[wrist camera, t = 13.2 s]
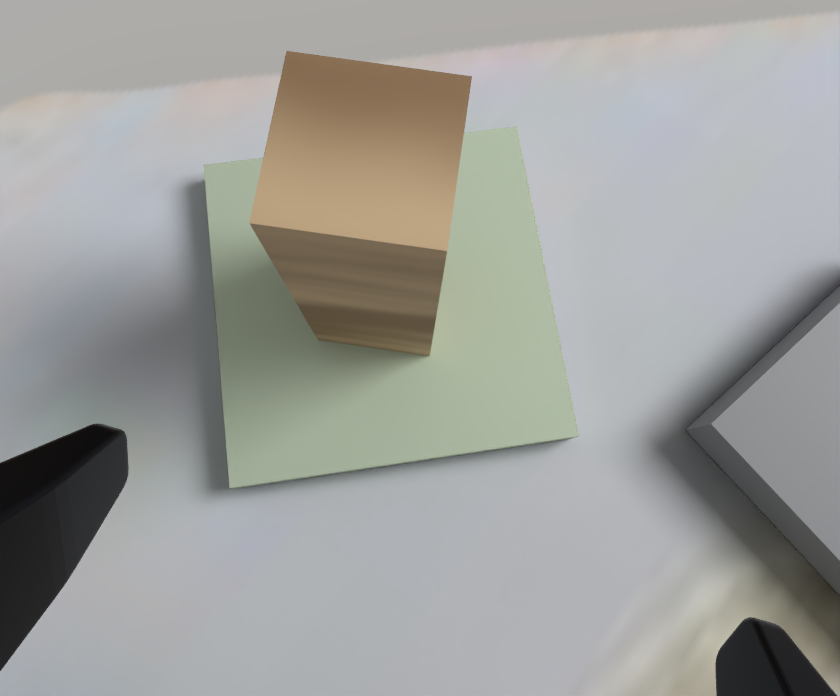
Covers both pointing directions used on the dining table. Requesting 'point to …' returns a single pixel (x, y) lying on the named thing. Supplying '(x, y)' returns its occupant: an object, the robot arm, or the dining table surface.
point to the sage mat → (384, 369)
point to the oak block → (362, 196)
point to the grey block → (788, 436)
